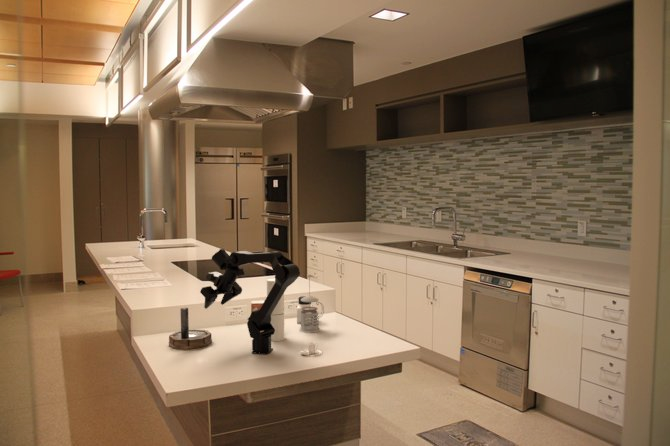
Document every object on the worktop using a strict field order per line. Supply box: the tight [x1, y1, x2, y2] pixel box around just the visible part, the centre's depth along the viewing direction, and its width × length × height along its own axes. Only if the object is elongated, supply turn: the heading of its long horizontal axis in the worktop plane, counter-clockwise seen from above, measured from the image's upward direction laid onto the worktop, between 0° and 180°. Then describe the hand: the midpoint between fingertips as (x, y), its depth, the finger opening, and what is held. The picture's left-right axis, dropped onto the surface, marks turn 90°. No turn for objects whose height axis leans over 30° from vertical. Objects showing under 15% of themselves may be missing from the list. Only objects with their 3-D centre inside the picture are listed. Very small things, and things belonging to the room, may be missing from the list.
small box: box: [250, 299, 265, 333], centre depth 239 cm, size 8×6×13 cm
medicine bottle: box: [296, 295, 314, 324], centre depth 255 cm, size 7×7×12 cm
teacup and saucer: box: [299, 341, 323, 357], centre depth 206 cm, size 9×8×4 cm
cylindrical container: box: [266, 277, 285, 342], centre depth 225 cm, size 7×7×25 cm
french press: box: [298, 274, 325, 334], centre depth 240 cm, size 10×12×25 cm
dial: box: [174, 307, 206, 339], centre depth 219 cm, size 13×13×14 cm
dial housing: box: [168, 328, 213, 350], centre depth 219 cm, size 17×17×4 cm
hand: (213, 306), depth 221 cm, fingers open, 9 cm apart
